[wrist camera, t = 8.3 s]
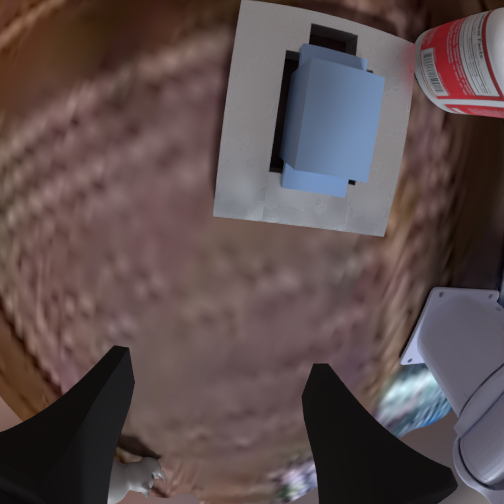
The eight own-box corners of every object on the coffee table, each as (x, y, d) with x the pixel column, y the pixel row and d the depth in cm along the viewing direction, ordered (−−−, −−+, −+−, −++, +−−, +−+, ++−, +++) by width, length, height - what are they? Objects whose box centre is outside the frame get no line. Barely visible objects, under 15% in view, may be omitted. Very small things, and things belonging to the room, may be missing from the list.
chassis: (400, 50, 14) (416, 44, 12) (371, 225, 19) (383, 236, 17) (241, 11, 13) (241, -1, 12) (215, 206, 18) (212, 216, 16)
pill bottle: (484, 73, 14) (600, 79, 4) (455, 130, 16) (583, 162, 6) (428, 13, 13) (545, -22, 3) (393, 69, 15) (529, 48, 5)
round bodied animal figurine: (151, 453, 34) (168, 506, 27) (68, 452, 28) (77, 509, 21) (159, 432, 31) (179, 493, 25) (63, 430, 25) (72, 496, 19)
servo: (293, 54, 15) (315, 30, 10) (349, 67, 15) (387, 52, 10) (275, 178, 18) (289, 199, 13) (330, 186, 18) (361, 210, 13)
